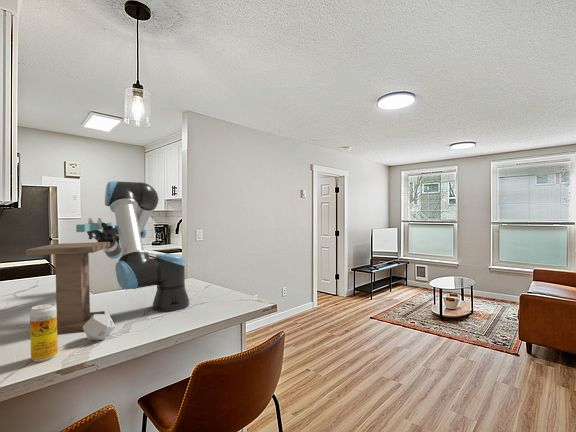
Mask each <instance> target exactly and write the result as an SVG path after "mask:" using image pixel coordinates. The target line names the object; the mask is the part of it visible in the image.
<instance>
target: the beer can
mask: <svg viewBox="0 0 576 432" xmlns="http://www.w3.org/2000/svg"><path fill="white" fill-rule="evenodd" d="M29 330H30V337H29V338H30V359H31V360H32V361H33V362H35V363H40V362H41V363H42V362H46V361H49V360H51V359H54V358H55V357H56V355H57V354H58V353H59V350H58V349H59V347H58V346H59V345H58V334H57V306H56V305H55V304H54V303H44V304H39V305H36V306H32V307H31V310H30V311H29Z"/></svg>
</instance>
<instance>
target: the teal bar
mask: <svg viewBox="0 0 576 432" xmlns="http://www.w3.org/2000/svg"><path fill="white" fill-rule="evenodd" d="M75 225H76V227H75V229H76V230H75V231H76V233H87V231H93V230H99V231H101V228H100V227H99V225H98V224H97V222H94V223H89V224H88V223H81V224H80V223H79V224H75Z"/></svg>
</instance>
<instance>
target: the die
mask: <svg viewBox="0 0 576 432" xmlns="http://www.w3.org/2000/svg"><path fill="white" fill-rule="evenodd" d="M82 328H83V330H84V331H83V332H84V334H85V336H86V337H87V340H88V341H105V340H106V339H107V338H108V337H109V335H111V333H112V332H113V330H114V329H115V328H116V325H115V323H114V321H113V319H112V317H111V315H110V313H105V314H94V315H93V316H92V317H91V318H90V319H89V320H88V321H87V323H86V324H85V325H84V326H83V327H82Z"/></svg>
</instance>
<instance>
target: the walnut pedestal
mask: <svg viewBox="0 0 576 432" xmlns="http://www.w3.org/2000/svg"><path fill="white" fill-rule="evenodd" d="M108 247H110V242H98V241H97V242H71V243H70V242H68V243H51V244H47V245H42V246H37V247H32V248H27V249H25V256H46V255H50V256H51V255H52V256H53V255H54V262H55V263H54V266H55V301H56V305H55V307H56V308H57V335H59V334H66V333H67V334H69V333H77V332H78V333H79V332H84V330H83V328H82V327H83V326H84V325H85V324H86V323H87V321H88V320H89V319H90V318H91V317H92V316H93V315H94V314H106V311H105V310H102V311H101V310H100V311H91V303H90V301H91V300H90V298H91V297H90V295H91V294H90V263H89V261H90V259H89V254H91V253H92V254H93V253H96V252H98V251H102V250H103V249H105V248H108Z"/></svg>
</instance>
